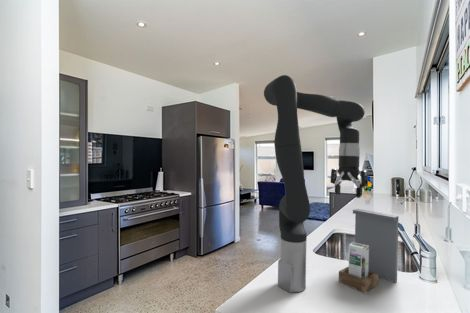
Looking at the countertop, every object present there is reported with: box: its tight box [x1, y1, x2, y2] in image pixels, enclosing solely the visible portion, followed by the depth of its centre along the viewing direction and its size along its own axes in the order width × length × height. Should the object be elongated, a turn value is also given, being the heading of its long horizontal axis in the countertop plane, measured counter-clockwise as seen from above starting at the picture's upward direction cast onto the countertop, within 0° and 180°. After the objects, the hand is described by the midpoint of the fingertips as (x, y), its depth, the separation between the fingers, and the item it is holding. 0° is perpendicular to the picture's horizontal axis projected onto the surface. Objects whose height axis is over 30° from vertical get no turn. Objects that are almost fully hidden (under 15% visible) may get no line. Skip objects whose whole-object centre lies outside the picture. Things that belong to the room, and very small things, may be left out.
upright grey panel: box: [352, 208, 399, 283], centre depth 104 cm, size 4×16×25 cm, turn 37°
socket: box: [338, 266, 380, 294], centre depth 97 cm, size 10×10×4 cm
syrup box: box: [348, 241, 369, 279], centre depth 97 cm, size 6×6×14 cm
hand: (347, 196), depth 102 cm, fingers open, 8 cm apart
